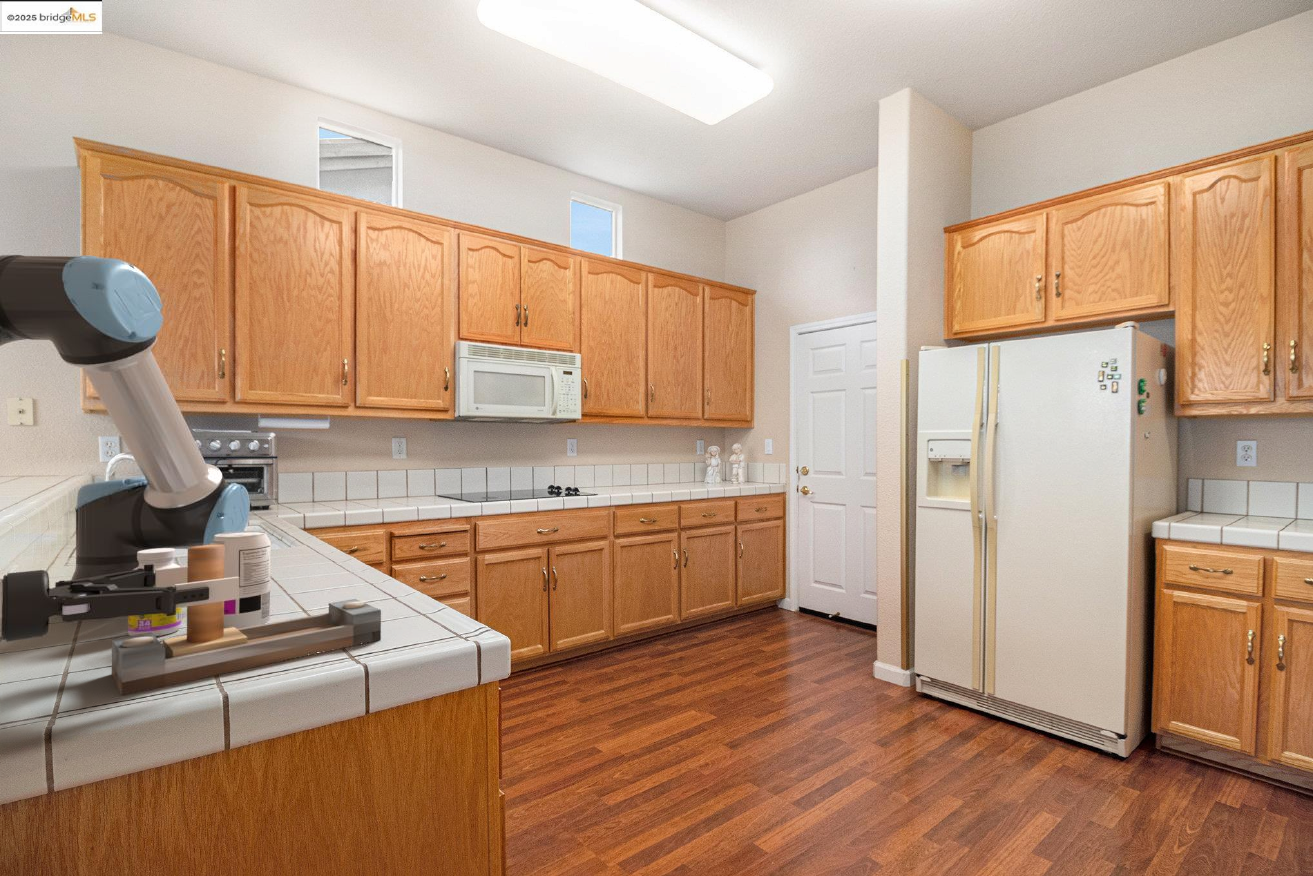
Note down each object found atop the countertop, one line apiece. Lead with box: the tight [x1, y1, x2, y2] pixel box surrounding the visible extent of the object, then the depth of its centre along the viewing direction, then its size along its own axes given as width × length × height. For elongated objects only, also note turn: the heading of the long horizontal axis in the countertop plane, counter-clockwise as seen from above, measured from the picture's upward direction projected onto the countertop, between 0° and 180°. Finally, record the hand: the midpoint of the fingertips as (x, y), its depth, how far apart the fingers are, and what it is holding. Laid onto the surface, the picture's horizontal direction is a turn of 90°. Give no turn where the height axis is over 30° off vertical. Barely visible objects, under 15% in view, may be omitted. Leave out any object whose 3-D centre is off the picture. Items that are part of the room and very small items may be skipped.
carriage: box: [162, 545, 247, 659], centre depth 85 cm, size 7×8×14 cm
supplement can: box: [210, 530, 271, 629], centre depth 103 cm, size 8×8×15 cm
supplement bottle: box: [127, 548, 183, 638], centre depth 100 cm, size 7×7×13 cm
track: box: [111, 598, 382, 695], centre depth 89 cm, size 10×30×5 cm, turn 136°
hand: (225, 579), depth 86 cm, fingers open, 13 cm apart
